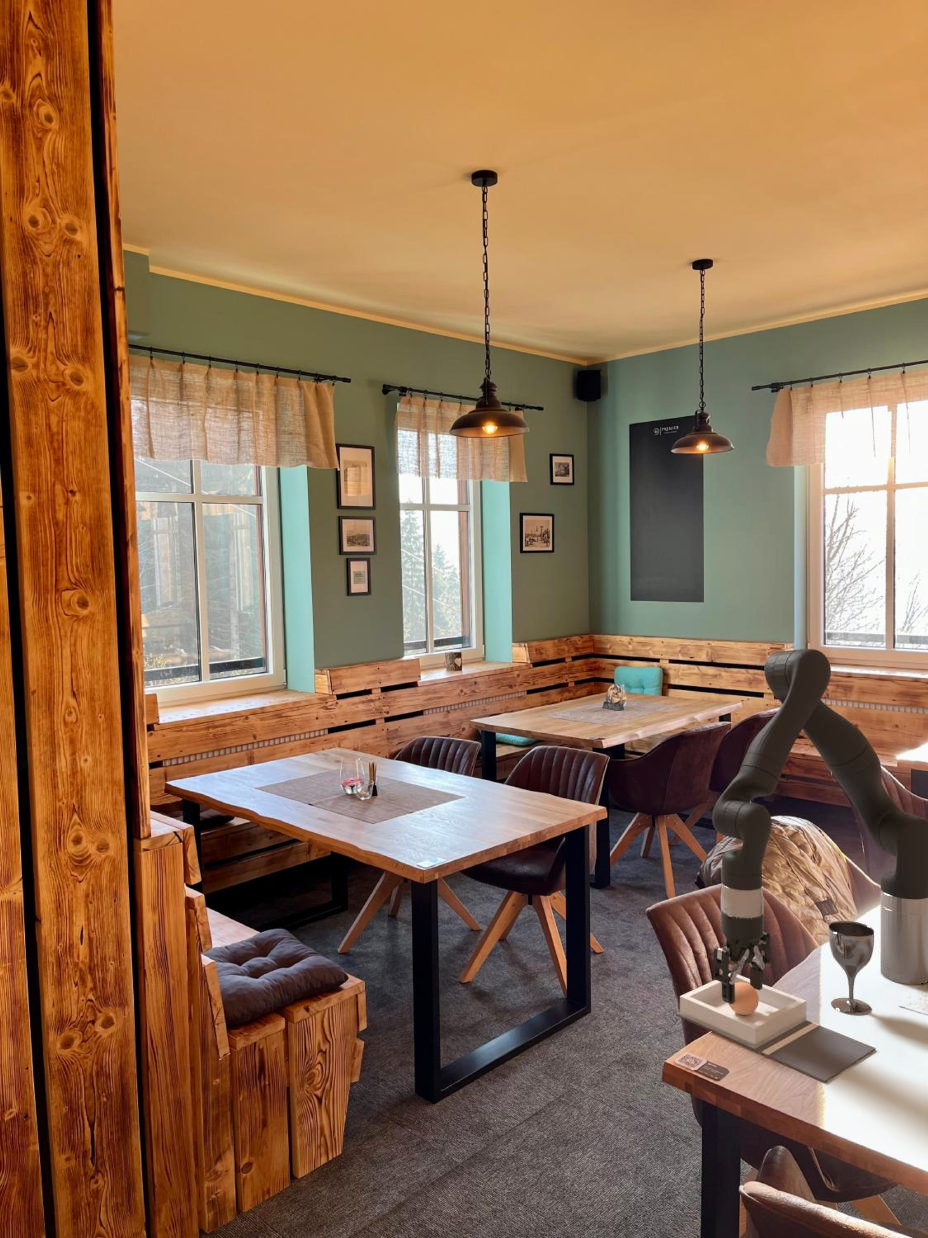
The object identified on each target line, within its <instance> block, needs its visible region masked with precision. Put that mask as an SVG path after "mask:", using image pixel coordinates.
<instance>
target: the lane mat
mask: <svg viewBox="0 0 928 1238" xmlns="http://www.w3.org/2000/svg"><path fill="white" fill-rule="evenodd" d="M675 1016H677V1017H678V1018H681V1019H683V1020H685V1021H688V1022H690V1023H691V1024H695V1026H696V1025H697V1026H699V1027H701V1028H703V1029H705V1030H707V1031H709V1032H711V1033H713V1034H716V1035H717V1036H720V1037H723V1038H725V1039H727V1040H728V1041H731V1042H733V1043H736V1044H738V1045H740V1046H742V1047H744V1048H747V1049H749V1050H751V1051H753V1052H756V1053H758V1054H760V1055H762V1056H765V1057H766V1058H769V1059H771V1060H772V1061H775V1062H778V1063H779V1064H782V1065H784V1066H786V1067H788V1068H791V1069H793V1070H795V1071H797V1072H799V1073H802V1074H804V1075H806V1076H808V1077H810V1078H813V1079H815V1080H817V1081H820V1082H822V1083H824V1084H826V1083H827V1082H829V1081H830V1080H832V1079H833V1078H836V1076H838V1075H840V1074H841V1073H842V1072H844V1071H846V1070H847V1069H849V1068H851V1067H852V1066H854V1065H855V1064H857V1063H858V1062H860V1061H861V1060H863V1059H864V1058H866V1057H867V1056H869V1055H871V1054H872V1053H874V1052H875V1051H876V1047H874V1046H871V1045H870V1044H866V1043H865V1042H862V1041H859V1040H857V1039H854V1038H852V1037H850V1036H847V1035H844V1034H842V1033H839V1032H837V1031H834V1030H832V1029H829V1028H827V1027H825V1026H821V1025H820V1024H818V1023H816V1022H811V1021H809V1020H807V1019H806V1021H804V1022H802V1023H800V1024H799V1025H797V1026H795V1027H793V1028H791V1029H790V1030H788V1031H786V1032H784V1033H783V1034H781V1035H779V1036H777V1037H775V1038H774V1039H772V1040H770V1041H768V1042H766V1043H765V1044H763V1045H761V1046H759V1047H757V1048H756V1049H754V1048H751V1047H749V1046H747V1045H745V1044H743V1043H740V1042H738V1041H736V1040H734V1039H732V1038H729V1037H727V1036H725V1035H723V1034H721V1033H718V1032H716V1031H714V1030H712V1029H710V1028H707V1027H705V1026H703V1025H701V1024H698V1023H696V1022H694V1021H692V1020H690V1019H687V1018H685V1017H683V1016H681V1015H680V1011H678V1012H676V1013H675Z"/></svg>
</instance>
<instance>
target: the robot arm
mask: <svg viewBox="0 0 928 1238" xmlns="http://www.w3.org/2000/svg"><path fill="white" fill-rule="evenodd" d="M763 667H764V669H763V672H764V677H765V680H766V683H767V685H768V687H769V689H770V691H771V692H772V694H773V695H774V696H775V697H776V699H777V700H778V701H779V702H780V704H782V705H781V706H780V708H779V709H778V711H777V712H776V713H775V715H774V716H773V717H772V718H771V719H770V720H769V721H768V722H767V723H766V724H765V726H764V727H763V728H762V729H761V730H760V731H759V732H758V733H757V734H756V736H755V737H754V738H753V740H752V741H751V743H750V744H749V747H748V749H747V752H746V753H745V756H744V757H743V758H744V759H743V760H742V761H743V762H742V764H741V766H740V769H739V771H738V774H737V775H736V776H735V777H734V778H733V779H732V781H731V782H730V783H729V785H728V786H727V788H725V790H724V791H723V792H722V794H721V795H720V796H719V797H718V799H717V801H716V803H715V804H714V807H713V810H712V815H711V821H712V826H713V828H714V829H715V831H716V832H717V833H719V834H720V835H722V836H725V837H728V838H732V839H736V840H740V841H742V846H741V848H739V849H738V848H737V849H729V850H727V851H726V852H724V854H723V855H722V859H721V882H722V884H721V891H720V932H721V933H722V934H723V936H724V937H725V945H724V946H723V947H718V946H715V947H714V949H713V966H712V967H713V970H712V979H713V981H714V980H717V981H719V982H722V999H723V1001H724V1002H727V1003H729V1004H733V1003H734V1002H735V984H734V981H735V979H736V976H737V974H738V975H739V974H741V973H742V970H743V967H745V966H746V965H747V964H749V965H750V967H749V979H750V985H751V986H752V987H753V988H754V989H757V990H761V989H762V987H763V986H762V984H763V981H764V970H765V968H766V965H770V963H771V960H772V959H771V938H770V937H771V936H770V933H769V932H767V931H764V930H765V929H764V928H765V927H764V926H765V925H764V918H765V916H764V913H765V912H764V907H765V906H764V904H765V903H764V901H765V900H764V893H763V862H764V858H765V854H766V851H767V846H768V843H769V839H770V836H771V832H772V829H773V828H772V826H773V821H772V817H771V813H770V812H769V810H768V809H767V808H766V807H765V806H764V805H763V804H759V803H756V802H753V800H754V799H756V798H760V797H768V796H771V795H773V794H774V792H775V790H776V788H777V786H778V784H779V780H780V778H781V775H782V773H783V770H784V768H785V764H786V762H787V760H788V758H789V756H790V753H791V751H792V748H793V746H794V745H795V743H796V741H797V739H798V737H799V736H800V734H801V733H802V730H803V732H804V734H805V735H806V736H807V738H808V739H809V740H810V742H811V743H812V745H813V746H814V748H815V749H816V750H817V752H818V754H819V755H820V757H821V758H822V760H823V762H824V763H825V764H826V766H827V768H828V769H829V771H830V773H831V774H832V775H833V777H834V778H835V779H836V781H837V782H838V784H839V785H840V786H841V788H842V789H843V790H844V792H845V794H846V795H847V797H848V798H849V800H850V801H851V803H852V804H853V806H855V808H856V810H857V812H858V814H859V817H860V818H861V819H862V822H863V824H864V826H865V827H866V830H867V831H868V833H869V835H870V837H871V838H872V840H873V842H874V843H875V845H876V846H877V847H878V848H879V849H880V850H881V851H883V853H886V854H888V855H891V856H893V857H896V860H895V870H894V871H893V870H892V871H889V872H884V873H883V874H882V875H881V877H880V973H881V974H882V975H883V976H884V977H885V978H886V979H888V980H891V981H893V982H898V983H901V984H905V985H906V984H907V985H922V984H921V983H924V984H926V983H925V982H926V981H928V819H926V818H924V817H921V816H918V815H917V814H916V815H915V814H913V813H909V812H907V811H904V810H902V809H901V808H899V807H898V806H897V805H896V803H895V802H894V801H893V800H892V799H891V797H890V795H889V794H888V793H887V791H886V790H885V787H884V785H883V783H882V781H883V780H882V777H883V776H882V765H881V760H880V758H879V756H878V754H877V753H876V751H875V749H874V747H873V746H872V745H871V743H870V742H869V740H868V739H867V737H866V736H865V735H864V733H863V732H862V731H861V729H859V728H858V727H857V726H855V724H853V723H852V722H851V721H849V720H848V719H847V718H845V717H844V716H842V715H841V714H839V713H838V712H837V711H836V710H833V709H832V708H831V707H830V706H828V705H827V704H826V703H825V702H824V701H823V700H821V699H822V698H823V695H824V694H825V691H826V690H827V689H828V686H829V683H830V681H831V676H832V667H831V663H830V662H829V659H828V657H827V656H826V655H825V654H824V653H823V652H822V651H820V650H818V649H815V648H801V649H793V650H782V651H778V652H775V653H772V654H770V656H769V657H767V659H766V660H765V663H764V666H763ZM751 801H752V802H751ZM762 952H764V955H763V954H762ZM730 962H731V963H732V964H730ZM733 964H734V965H733ZM720 970H721V971H720ZM730 971H731V972H730ZM729 972H730V973H731V974H730V976H729Z"/></svg>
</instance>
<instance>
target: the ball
mask: <svg viewBox="0 0 928 1238" xmlns="http://www.w3.org/2000/svg"><path fill="white" fill-rule="evenodd" d="M758 1003H759V998H758V994H757V992H756V990H755V989H754V988H753V987H752V986H751V985H749V984H748V983H745V982H738V983H735V1002H734V1003H733V1004H729V1003H728V1004H729V1006H730V1007H731V1009H732V1010H733V1011H735V1012H736V1013H738V1014H741V1015H748V1014H751V1013H753V1012H754V1011H755V1010H756V1008H757V1006H758Z"/></svg>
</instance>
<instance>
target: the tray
mask: <svg viewBox="0 0 928 1238" xmlns="http://www.w3.org/2000/svg"><path fill="white" fill-rule="evenodd" d="M730 974H731V972H730V973H729V976H730ZM738 982H745V983H748V984H749V985H750V978H748V977H745V976H743V975H740V974H739V973H738V974H737V976H736V979H735V981H734V984H735V983H738ZM762 986H763V987H762V989H761V990H757V989H755V990H756V992H757V994H758V998H759V1003H758V1006H757V1008H756V1010H755V1011H754V1012H753V1013H751V1014H748V1015H741V1014H738V1013H736V1012H735V1011H733V1010H732V1009H731V1007H730V1006H729V1004H728V1003H727V1002H724V1001H723V999H722V982H719V981H717V980H714V979H713V980H712V981H710V982H708V983H706V984H704V985H701V986H699V987H697V988H695V989H693V990H690V991H688V992H686V993H683V994H682V995H680V996H679V1012H680V1015H681V1016H683V1017H685V1018H687V1019H690V1020H692V1021H694V1022H696V1023H698V1024H701V1025H703V1026H705V1027H707V1028H710V1029H712V1030H714V1031H716V1032H718V1033H721V1034H723V1035H725V1036H727V1037H729V1038H732V1039H734V1040H736V1041H738V1042H740V1043H743V1044H745V1045H747V1046H749V1047H751V1048H754V1049H756V1048H757V1047H759V1046H761V1045H763V1044H765V1043H766V1042H768V1041H770V1040H772V1039H774V1038H775V1037H777V1036H779V1035H781V1034H783V1033H784V1032H786V1031H788V1030H790V1029H791V1028H793V1027H795V1026H797V1025H799V1024H800V1023H802V1022H804V1021H806V1020H807V1000H805V999H803V998H800V997H798V996H796V995H792V994H790V993H787V992H785V991H782V990H779V989H776V988H774V987H771V986H768V985H766V984H762Z"/></svg>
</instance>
